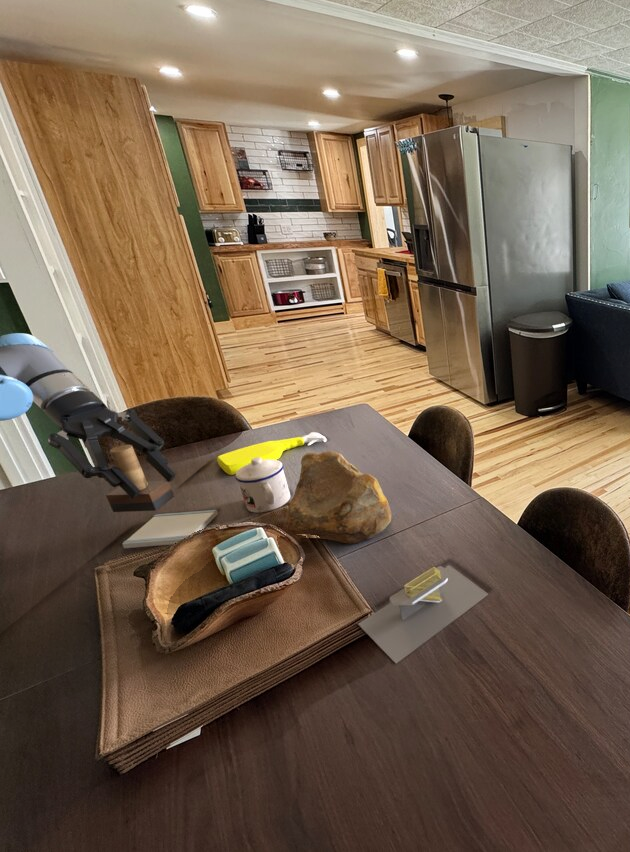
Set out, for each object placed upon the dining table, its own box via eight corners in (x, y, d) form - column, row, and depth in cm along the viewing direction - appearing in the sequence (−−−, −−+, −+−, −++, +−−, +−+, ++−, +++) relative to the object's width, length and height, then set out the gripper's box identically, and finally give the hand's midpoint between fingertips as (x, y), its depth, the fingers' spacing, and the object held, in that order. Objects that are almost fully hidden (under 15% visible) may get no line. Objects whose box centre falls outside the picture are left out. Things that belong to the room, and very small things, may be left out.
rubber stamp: (113, 512, 94) (87, 455, 89) (133, 497, 99) (110, 442, 94) (156, 510, 95) (132, 454, 90) (174, 496, 100) (153, 441, 95)
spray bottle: (216, 464, 126) (314, 434, 144) (230, 478, 120) (330, 445, 138) (213, 455, 125) (312, 426, 143) (227, 468, 119) (328, 436, 137)
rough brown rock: (270, 531, 102) (245, 475, 95) (343, 490, 114) (325, 438, 107) (328, 578, 91) (305, 518, 84) (403, 527, 103) (388, 471, 96)
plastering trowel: (488, 594, 85) (485, 565, 83) (396, 663, 72) (389, 632, 70) (449, 565, 92) (445, 537, 90) (357, 623, 79) (350, 593, 77)
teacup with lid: (242, 501, 111) (227, 458, 106) (286, 487, 117) (274, 445, 112) (252, 525, 103) (237, 479, 98) (299, 508, 109) (287, 464, 104)
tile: (124, 548, 96) (121, 543, 95) (158, 518, 105) (156, 513, 104) (190, 542, 97) (188, 537, 97) (218, 514, 106) (216, 509, 106)
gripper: (121, 395, 103) (198, 472, 105) (-1, 431, 87) (94, 521, 89) (128, 375, 100) (208, 455, 102) (3, 408, 83) (101, 503, 85)
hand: (154, 486), depth 95 cm, fingers closed on rubber stamp, 6 cm apart
